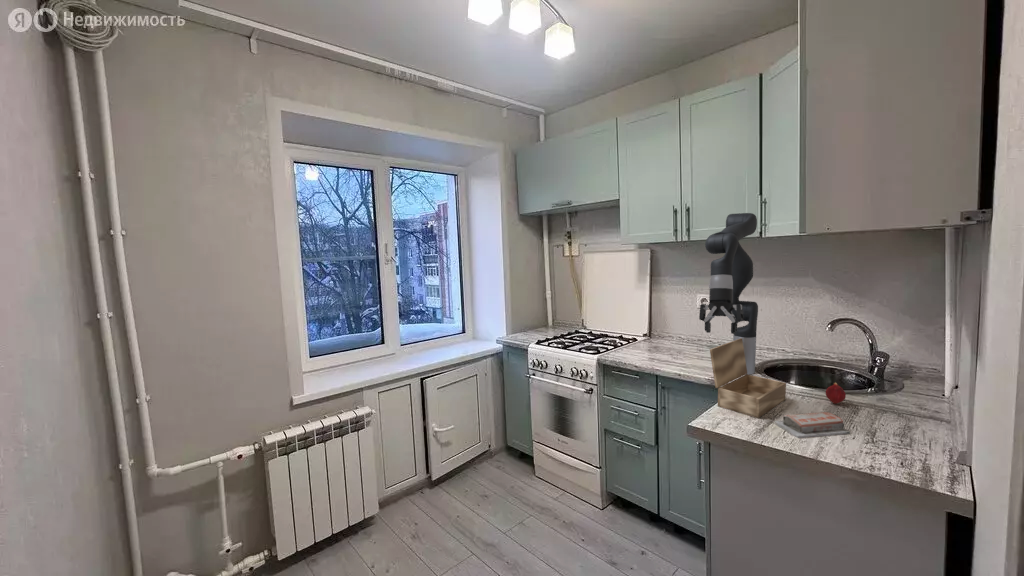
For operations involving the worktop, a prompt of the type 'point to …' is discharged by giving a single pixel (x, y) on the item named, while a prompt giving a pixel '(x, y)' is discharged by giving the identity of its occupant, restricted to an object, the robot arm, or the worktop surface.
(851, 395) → the worktop surface
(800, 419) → the packaged product
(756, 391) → the carton
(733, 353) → the carton lid
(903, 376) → the worktop surface
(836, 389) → the onion
